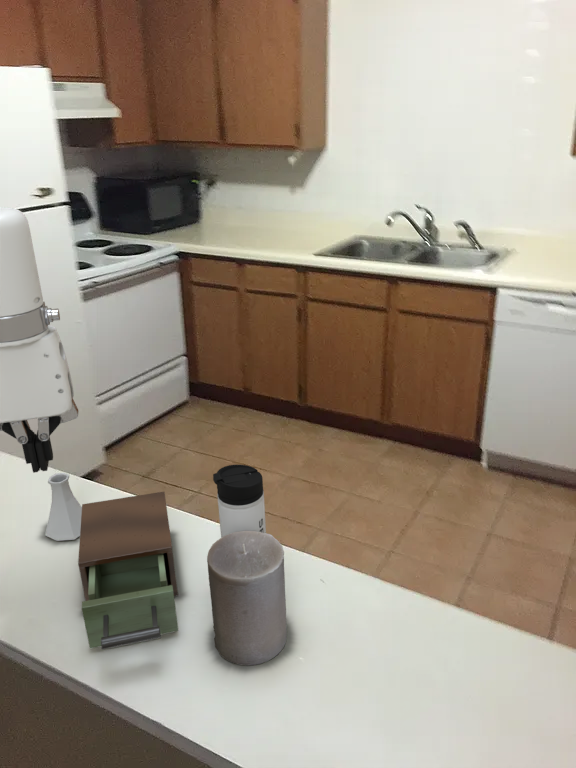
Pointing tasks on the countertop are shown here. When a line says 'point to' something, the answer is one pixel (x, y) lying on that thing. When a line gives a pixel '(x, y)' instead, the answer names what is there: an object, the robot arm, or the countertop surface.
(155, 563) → the bin drawer
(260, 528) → the travel mug
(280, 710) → the countertop surface
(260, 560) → the pillar candle
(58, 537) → the flask
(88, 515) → the cabinet
